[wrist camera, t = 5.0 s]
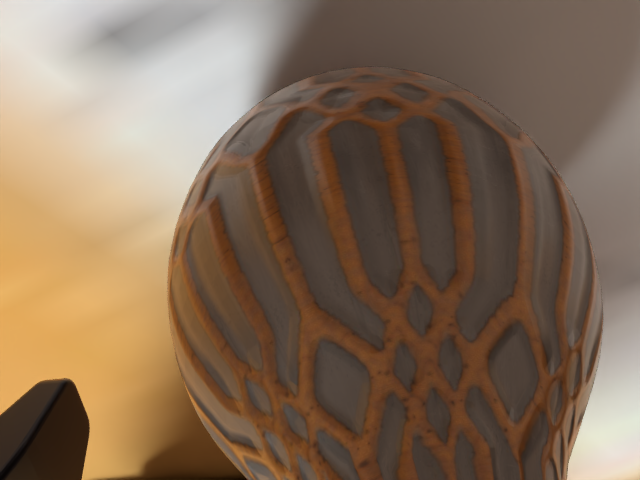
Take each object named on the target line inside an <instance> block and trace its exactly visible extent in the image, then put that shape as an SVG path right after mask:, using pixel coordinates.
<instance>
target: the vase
mask: <svg viewBox="0 0 640 480" xmlns="http://www.w3.org/2000/svg"><path fill="white" fill-rule="evenodd" d="M168 310H169V319H170V328H171V334H172V339H173V344H174V349H175V354H176V358H177V362H178V365H179V369H180V372H181V375H182V378H183V381H184V385H185V388H186V390H187V392H188V395H189V397H190V399H191V401H192V404H193V406H194V408H195V410H196V413H197V414H198V416H199V418H200V420H201V422H202V423H203V425H204V426H205V428H206V429H207V431H208V432H209V434H210V435H211V437H212V438H213V440H214V441H215V443H216V444H217V446H218V447H219V448H220V449H221V450H222V452H223V453H224V454H225V455H226V456H227V458H228V459H229V460H230V461H231V462H232V463H233V464H234V466H235V467H236V468H237V469H238V470H239V471H240V472H241V473H242V474H243V475H244V476H245V477H246V478H247V479H248V480H567V471H568V463H569V459H570V456H571V453H572V449H573V446H574V444H575V441H576V438H577V435H578V432H579V429H580V426H581V422H582V419H583V416H584V413H585V410H586V406H587V403H588V400H589V397H590V393H591V390H592V386H593V383H594V379H595V375H596V371H597V367H598V362H599V358H600V351H601V341H602V332H603V306H602V294H601V285H600V280H599V275H598V270H597V265H596V260H595V256H594V252H593V249H592V246H591V243H590V239H589V236H588V233H587V230H586V227H585V224H584V222H583V220H582V217H581V215H580V212H579V210H578V208H577V206H576V203H575V201H574V199H573V197H572V195H571V193H570V192H569V190H568V188H567V186H566V185H565V183H564V181H563V180H562V178H561V176H560V175H559V173H558V171H557V170H556V168H555V167H554V166H553V164H552V163H551V162H550V160H549V159H548V158H547V156H546V155H545V154H544V153H543V152H542V151H541V150H540V149H539V148H538V146H537V145H536V144H535V143H534V142H533V141H532V140H531V139H530V138H529V137H528V135H527V134H525V133H524V132H523V131H522V130H521V129H520V128H519V127H518V126H517V125H516V124H514V123H513V122H512V121H511V120H510V119H508V118H507V117H506V116H505V115H503V114H502V113H501V112H499V111H498V110H497V109H495V108H494V107H493V106H491V105H490V104H488V103H487V102H485V101H483V100H482V99H480V98H479V97H477V96H475V95H474V94H472V93H470V92H469V91H467V90H465V89H463V88H461V87H459V86H457V85H455V84H453V83H450V82H448V81H445V80H443V79H440V78H437V77H433V76H430V75H427V74H423V73H418V72H413V71H408V70H402V69H395V68H386V67H357V68H348V69H340V70H335V71H330V72H325V73H322V74H318V75H315V76H311V77H309V78H306V79H303V80H301V81H298V82H296V83H293V84H291V85H289V86H287V87H285V88H283V89H281V90H279V91H277V92H276V93H274V94H272V95H270V96H269V97H267V98H266V99H264V100H263V101H261V102H260V103H258V104H257V105H256V106H255V107H253V108H252V109H251V110H250V111H248V112H247V113H246V114H245V115H244V116H242V117H241V118H240V119H239V120H238V121H237V122H236V123H235V124H234V125H233V126H232V127H231V128H230V129H229V130H228V131H227V132H226V133H225V134H224V135H223V136H222V137H221V139H220V140H219V141H218V142H217V144H216V145H215V146H214V148H213V149H212V150H211V151H210V153H209V155H208V156H207V158H206V159H205V161H204V163H203V164H202V166H201V168H200V170H199V172H198V174H197V175H196V177H195V179H194V181H193V183H192V185H191V187H190V189H189V192H188V194H187V197H186V199H185V202H184V205H183V207H182V210H181V213H180V215H179V219H178V222H177V225H176V229H175V233H174V238H173V242H172V247H171V252H170V258H169V267H168Z"/></svg>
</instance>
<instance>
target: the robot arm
mask: <svg viewBox="0 0 640 480" xmlns="http://www.w3.org/2000/svg"><path fill="white" fill-rule="evenodd" d="M89 429H90V427H89V419H88V416H87V413H86V411H85V408H84V406H83V403H82V401H81V398H80V396H79V393H78V391H77V388H76V386H75V384H74V382H73V381H72V380H70V379H67V378H64V379H53V380H44V381H41V382H39V383H37V384H36V385H35V386H33V387H32V388H31V389H30V390H29V391H28V392H26V393H25V394H24V395H23V396H22V397H21V398H20V399H18V400H17V401H16V402H15V403H14V404H13V405H11V406H10V407H9V408H8V409H7V410H6V411H5V412H3V413H2V414H1V415H0V480H81V479H82V474H83V468H84V462H85V456H86V450H87V445H88V439H89Z"/></svg>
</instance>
